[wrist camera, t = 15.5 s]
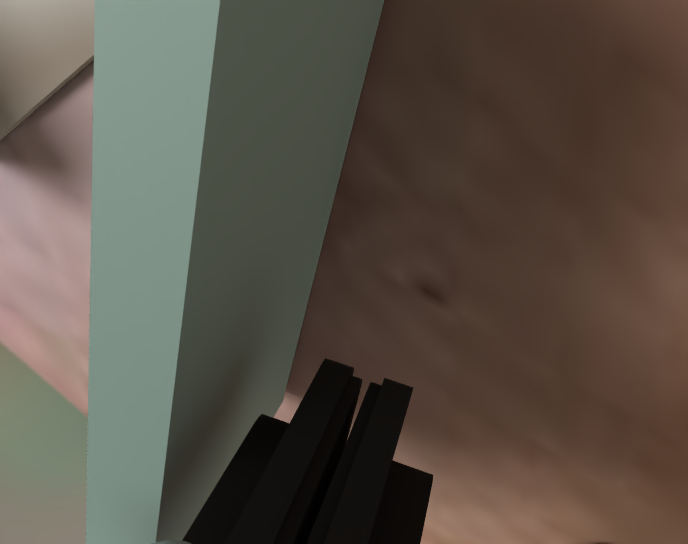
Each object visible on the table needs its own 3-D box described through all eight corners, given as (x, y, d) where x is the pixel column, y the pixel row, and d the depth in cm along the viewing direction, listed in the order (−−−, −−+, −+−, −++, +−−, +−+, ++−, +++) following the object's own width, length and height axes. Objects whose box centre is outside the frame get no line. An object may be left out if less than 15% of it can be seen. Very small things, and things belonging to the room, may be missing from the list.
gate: (347, -129, 10) (98, -238, 4) (412, -111, 10) (244, -199, 4) (243, 385, 17) (84, 619, 11) (283, 400, 17) (143, 647, 11)
